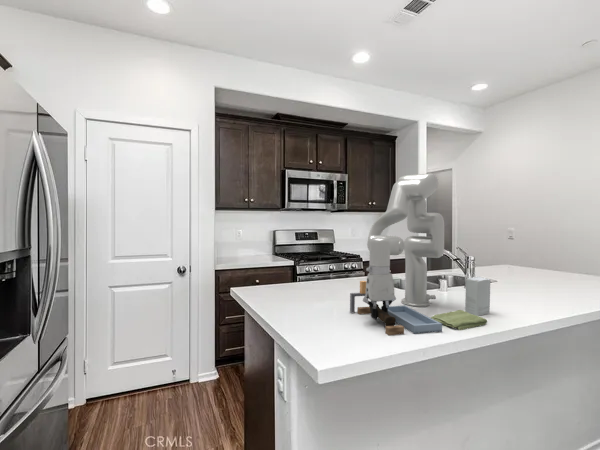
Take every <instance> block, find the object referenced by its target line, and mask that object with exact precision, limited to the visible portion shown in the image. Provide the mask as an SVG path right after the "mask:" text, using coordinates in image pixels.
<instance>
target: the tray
mask: <svg viewBox="0 0 600 450" xmlns="http://www.w3.org/2000/svg"><path fill="white" fill-rule="evenodd" d="M380 308H381V309H382V306H381V307H380ZM388 314H389V315H390V316H393V317H395V319H396V322H395V324H398V325H402V326H403V327H404V330H407V331H409V332H410V333H412V334H413V335H417V334H418V335H419V334H427V333H442V332H443V324H442V323H440V322H438V321H436V320H434V319H432V318H431V317H429V316H427V315H425V314H423V313H421V312H419V311H417V310H416V309H413V308H411V307H410V306H408V305H406V304H403V305H389V308H388Z"/></svg>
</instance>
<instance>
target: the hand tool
mask: <svg viewBox="0 0 600 450" xmlns="http://www.w3.org/2000/svg"><path fill="white" fill-rule="evenodd" d="M368 307H370V306H369V305H368ZM376 309H377V319H379V320H380V321H381V322H382V323H383V324H384V326H396V319H395V317H393V316H390V315H389V314H388V313H387V312H385V311H383V310H382V309H381V307H380V305H379V304H378V303H377V304H376ZM370 312H371V307H370Z"/></svg>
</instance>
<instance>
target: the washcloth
mask: <svg viewBox="0 0 600 450" xmlns="http://www.w3.org/2000/svg"><path fill="white" fill-rule="evenodd" d="M430 318H432V319H434V320H436V321H438V322H440V323H442V326H447V327H450V328H453V329H455V330H457V331H463V330H467V328H468V329H473V328H476V326H477V327H481V326H486V324H487V323H488V319H487V318H485V317H482V316H480V315H479V316H476V315H472V314H469V313H468V312H465V310H463V309H457V310H454V311H449V312H443V313H437V314H433V315H432V316H431V317H430ZM480 325H481V326H480Z"/></svg>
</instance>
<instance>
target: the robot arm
mask: <svg viewBox="0 0 600 450" xmlns="http://www.w3.org/2000/svg"><path fill="white" fill-rule="evenodd" d="M438 185H439V179H438V177H437V176H436V174H434V173H421V174H420V173H419V174H418V173H417V174H408V175H406V174H405V175H402V176H400V177H398V179H397V181H396V182H395V183H394V184H393V186H392V189H391V193H390V196H389V200H388V204H387V207H386V211H385V212H384V213H383V214H381V215H380V216H379V217H377V219H376V221H374V222H373V224H372V225H371V227H370V230H369V234H368V238H367V243H366V245H367V250H368V251H369V265H368V267H366V269H365V270H366V272H369V273H367V277H366V280H365V281H366V294H365V296H363V298H362V302H364V303H365V304H367V305H368V307H369V306H370V307H371V314H370V316H371V318H373V319H374V320H378V317H377V309H376V304H378V302H382V305H381V307H382V310H383V311H385V312H387V313H388V308H389V306H391V304H392V303H393V302H395V301H396V300H397V298H396V295H395V283H394V277H393V274H392V272H391V269H390V268H391V256H399V255H400V254H402V253H403V252H404V261H405V267H404V268H405V272H404V273H405V274H404V275H405V276H404V277H405V279H404V281H405V283H404V297H403V298H401V303H402V304H403V305H405V306H409V307H410V306H411V307H416V308H417V307H422V308H423V307H429V306H430V305H431V302H430V300H436V298H437V297H436V296H437V295H435V294H431V295H430V294H428V293H427V291H428V290H427V289H428V287H427V284H428V283H427V282H428V281H427V280H428V265H427V263H426V261H425V260H424V258H431V259H432V258H434V259H439V258H441V257H442V256H444V252H445V221H444V220H445V219H444V217H443V215H442V214H441V213H439V212H427V200H426V199H427V198H429V197H430V196H431V195H433V194H434V193H435V192H436V191H437V189H438ZM405 219H406V225H407V230H408V231H409V232H410V233H414V234H415V233H416V234H429V235H431V236H424V235H410V236H407V237H405V238H404V240H403V238H401V237H399V236H396V235H381V234H382V233H383V231H384V230H386V229H387V228H388V227H390V226H392V225H394V224H398V223H399V222H401V221H403V220H405Z"/></svg>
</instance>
